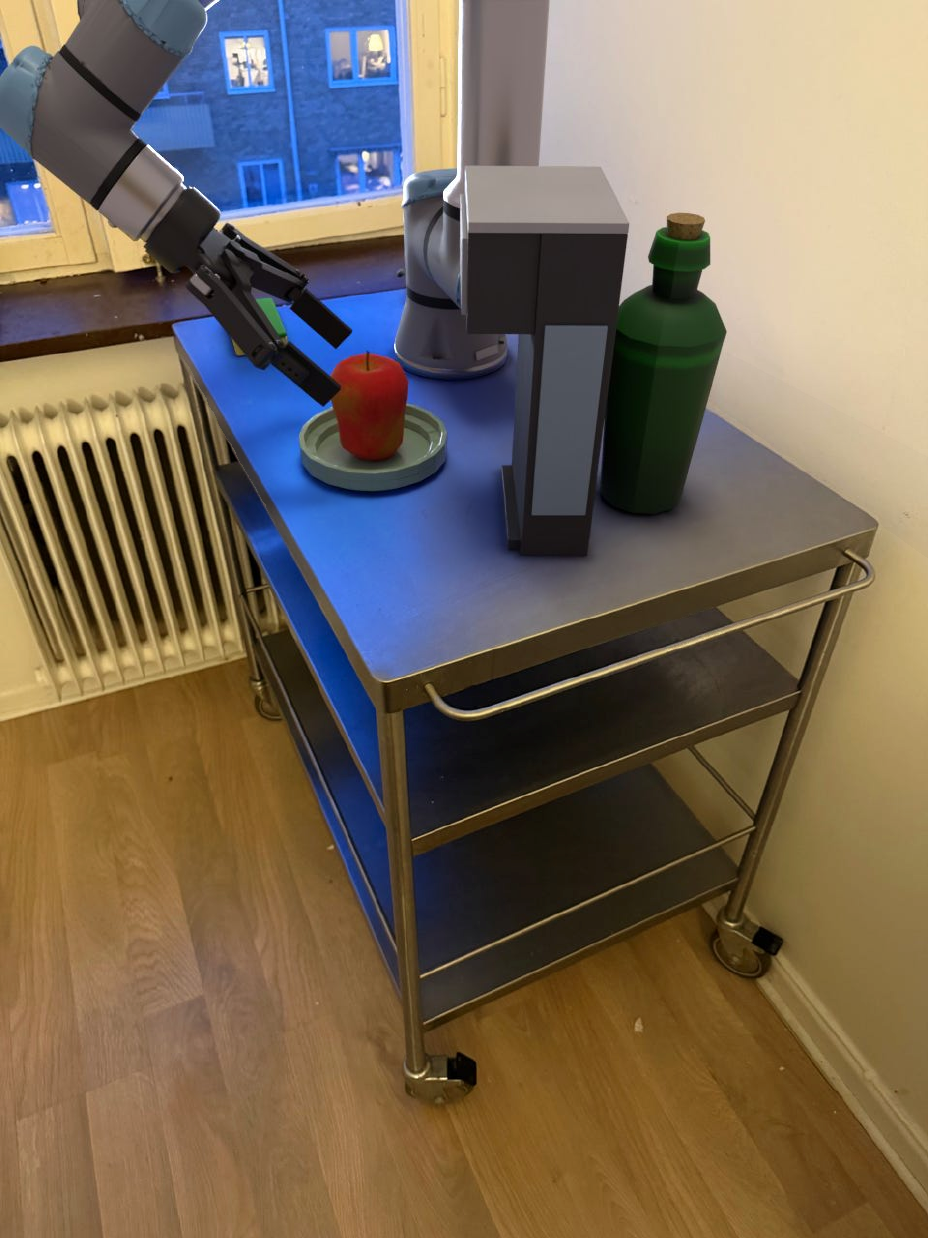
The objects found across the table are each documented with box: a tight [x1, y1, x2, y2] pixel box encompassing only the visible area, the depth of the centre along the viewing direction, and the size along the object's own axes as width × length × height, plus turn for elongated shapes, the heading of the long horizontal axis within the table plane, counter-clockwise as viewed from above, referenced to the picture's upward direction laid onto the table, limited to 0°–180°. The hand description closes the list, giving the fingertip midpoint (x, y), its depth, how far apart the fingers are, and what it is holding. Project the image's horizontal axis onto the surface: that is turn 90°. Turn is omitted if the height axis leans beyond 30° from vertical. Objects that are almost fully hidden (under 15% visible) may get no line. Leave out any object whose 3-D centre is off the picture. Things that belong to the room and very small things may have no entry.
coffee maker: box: [460, 165, 630, 557], centre depth 81 cm, size 12×16×31 cm
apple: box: [330, 350, 409, 461], centre depth 95 cm, size 9×8×12 cm
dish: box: [298, 403, 448, 492], centre depth 98 cm, size 16×16×3 cm
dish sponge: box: [230, 297, 289, 356], centre depth 124 cm, size 7×14×2 cm, turn 18°
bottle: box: [600, 212, 728, 515], centre depth 85 cm, size 11×11×28 cm
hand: (339, 366), depth 92 cm, fingers open, 13 cm apart
